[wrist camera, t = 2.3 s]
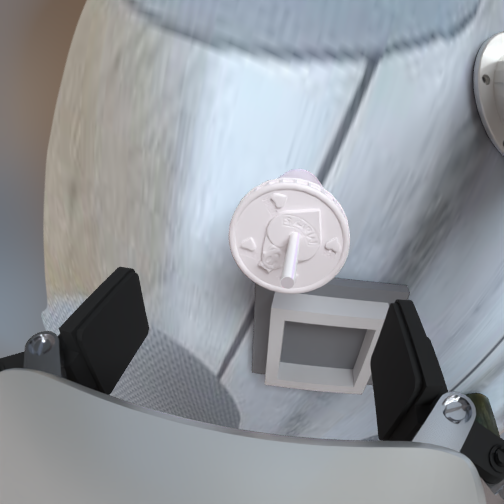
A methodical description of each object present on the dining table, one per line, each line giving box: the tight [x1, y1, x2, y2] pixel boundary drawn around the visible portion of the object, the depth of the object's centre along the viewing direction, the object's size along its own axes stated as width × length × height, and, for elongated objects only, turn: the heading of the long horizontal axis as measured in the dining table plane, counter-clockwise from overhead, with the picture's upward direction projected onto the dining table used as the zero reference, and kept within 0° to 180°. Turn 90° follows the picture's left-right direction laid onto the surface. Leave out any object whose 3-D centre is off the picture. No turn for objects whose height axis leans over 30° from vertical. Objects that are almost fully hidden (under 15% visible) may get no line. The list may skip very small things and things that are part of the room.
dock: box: [252, 278, 410, 394], centre depth 28 cm, size 14×13×4 cm
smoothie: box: [229, 169, 350, 294], centre depth 18 cm, size 6×6×14 cm
